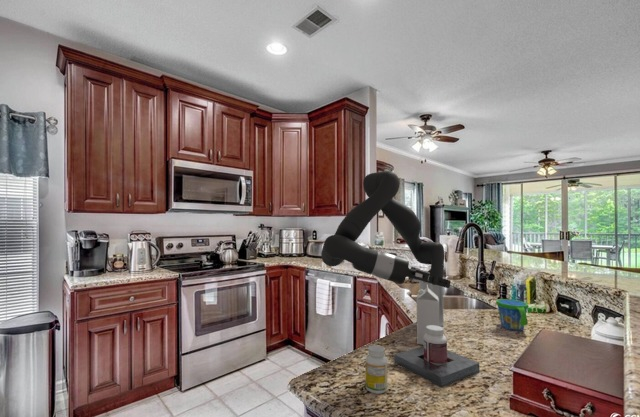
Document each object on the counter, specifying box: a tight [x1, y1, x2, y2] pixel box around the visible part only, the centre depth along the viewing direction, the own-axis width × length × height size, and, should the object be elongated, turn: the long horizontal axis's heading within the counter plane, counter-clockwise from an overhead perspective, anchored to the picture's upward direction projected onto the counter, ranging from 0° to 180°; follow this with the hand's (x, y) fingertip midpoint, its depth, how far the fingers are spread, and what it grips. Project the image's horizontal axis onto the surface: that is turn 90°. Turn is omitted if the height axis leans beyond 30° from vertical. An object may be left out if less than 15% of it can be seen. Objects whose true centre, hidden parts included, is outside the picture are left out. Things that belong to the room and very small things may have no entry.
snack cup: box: [495, 298, 529, 332], centre depth 122 cm, size 16×10×10 cm
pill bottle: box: [423, 325, 448, 366], centre depth 88 cm, size 6×6×11 cm
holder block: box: [393, 345, 480, 388], centre depth 87 cm, size 16×16×2 cm
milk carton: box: [416, 285, 439, 346], centre depth 107 cm, size 7×7×19 cm
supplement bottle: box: [364, 344, 389, 395], centre depth 76 cm, size 5×5×10 cm
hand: (443, 283), depth 89 cm, fingers open, 8 cm apart
